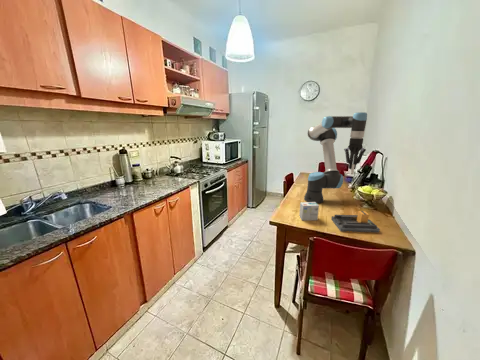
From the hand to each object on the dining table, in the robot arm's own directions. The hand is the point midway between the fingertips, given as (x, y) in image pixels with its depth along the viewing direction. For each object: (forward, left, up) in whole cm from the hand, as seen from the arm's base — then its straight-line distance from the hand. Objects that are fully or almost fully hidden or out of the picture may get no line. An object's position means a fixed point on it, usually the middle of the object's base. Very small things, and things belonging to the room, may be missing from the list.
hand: (351, 173), depth 135 cm
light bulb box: (+9, -28, -30) cm, 42 cm away
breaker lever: (+18, +3, -27) cm, 32 cm away
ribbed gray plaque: (+17, -1, -27) cm, 32 cm away
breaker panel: (+18, -2, -29) cm, 34 cm away
